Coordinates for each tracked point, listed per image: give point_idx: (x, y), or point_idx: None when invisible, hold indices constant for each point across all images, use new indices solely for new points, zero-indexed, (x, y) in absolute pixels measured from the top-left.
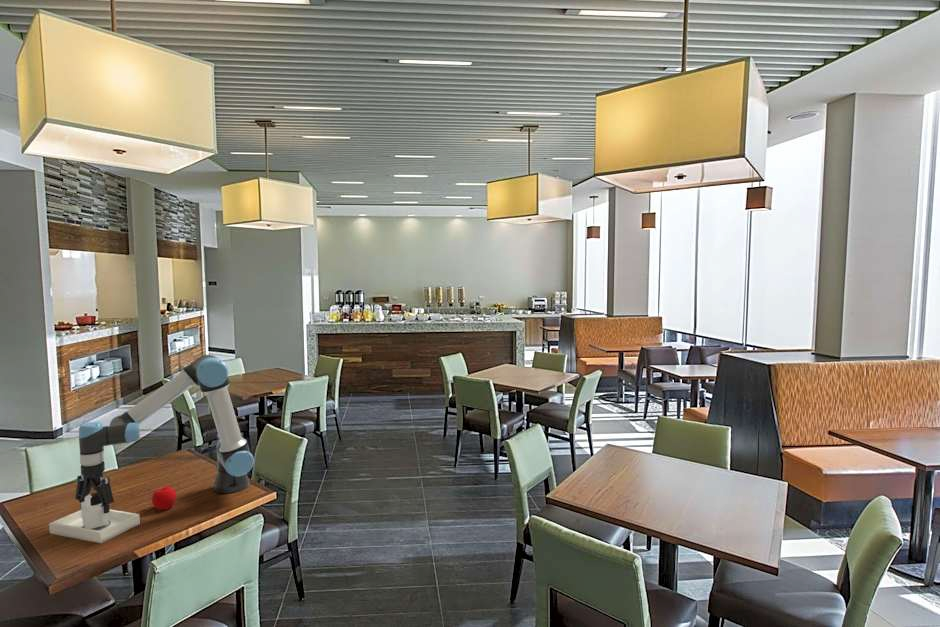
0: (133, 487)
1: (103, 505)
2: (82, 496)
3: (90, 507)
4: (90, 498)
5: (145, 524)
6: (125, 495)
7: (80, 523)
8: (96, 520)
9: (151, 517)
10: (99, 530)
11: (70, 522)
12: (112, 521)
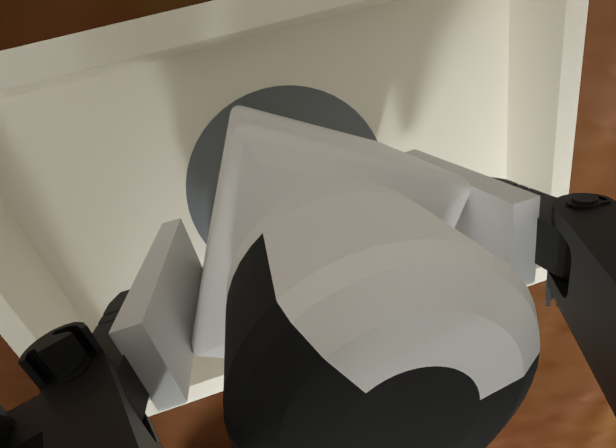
0: (584, 445)
1: (40, 359)
2: (610, 258)
3: (261, 219)
4: (297, 321)
5: None
6: (549, 410)
7: (435, 150)
8: (215, 199)
9: (162, 431)
10: (179, 179)
11: (511, 113)
12: None
